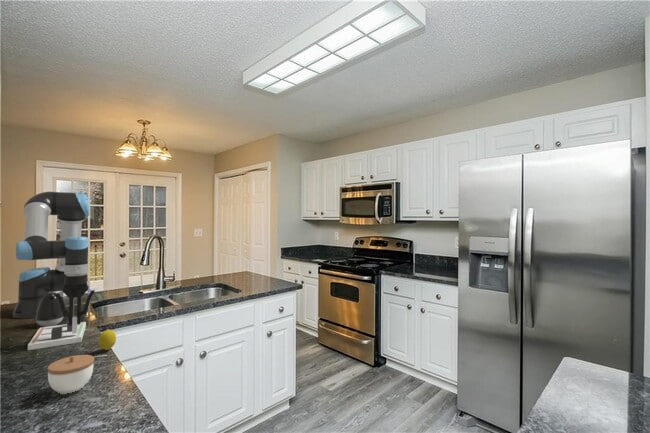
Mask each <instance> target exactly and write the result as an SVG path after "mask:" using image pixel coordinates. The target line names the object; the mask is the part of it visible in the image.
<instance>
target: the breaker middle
mask: <svg viewBox="0 0 650 433" xmlns="http://www.w3.org/2000/svg"><path fill="white" fill-rule="evenodd" d="M66 324H67V331H72V325H69V320H68V321H67V322H66Z"/></svg>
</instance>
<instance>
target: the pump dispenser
mask: <svg viewBox="0 0 650 433" xmlns="http://www.w3.org/2000/svg"><path fill="white" fill-rule="evenodd" d="M56 293H57V292H49V293H47V294H45V295H44V296H43V298H42V299H41V301H40V303H39V306H38V309H37V312H36V317H34V318H35V321H36V323H37V324H38V325H39V326H40V327H50V326H58V325H59V324H60V323H61V322H63V319H64V318H65V317H64V316H63V313H62V310H61V307H60V303H59V300H58V299H57V297H56V296H55V295H56Z"/></svg>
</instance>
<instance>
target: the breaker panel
mask: <svg viewBox="0 0 650 433" xmlns="http://www.w3.org/2000/svg"><path fill="white" fill-rule="evenodd" d="M57 327H62V337H61V338H57V339H51V330H52V329H53V328H57ZM86 328H87V322H86V321H81V323H80V324H78V325H77V333H74V334H72V331H67V323H66V324H60V325H59V324H57V325H54V326H50V327H43V326H41V327H39V328H38V330H37V332H36V333H35V334H34V336H33V337H32V338H31V339H30V341H29V342H28V344H27V351H32V350H38V349H44V348H45V349H46V348H49V347H50V348H51V347H57V346H63V345H64V346H65V345H69V344H70V345H71V344H77V343H81V342H82V340H83V338H84V337H83V336H84V334H85V330H86Z"/></svg>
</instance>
